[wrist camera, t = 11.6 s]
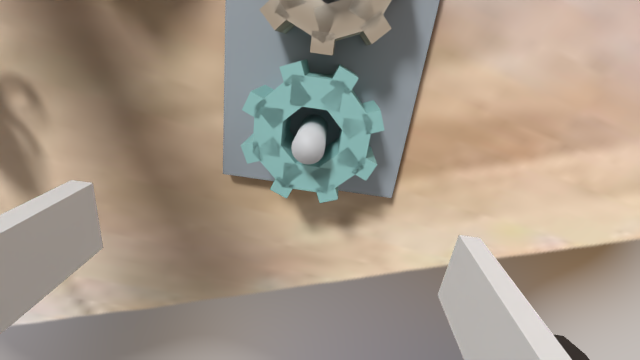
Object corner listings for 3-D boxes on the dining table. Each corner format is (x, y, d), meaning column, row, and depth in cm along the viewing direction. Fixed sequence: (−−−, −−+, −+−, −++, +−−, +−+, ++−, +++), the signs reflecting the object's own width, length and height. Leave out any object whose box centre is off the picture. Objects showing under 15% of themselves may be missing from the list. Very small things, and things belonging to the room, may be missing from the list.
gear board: (234, -128, 24) (182, -216, 16) (457, -96, 24) (516, -168, 16) (227, 168, 33) (193, 205, 25) (389, 191, 33) (405, 236, 25)
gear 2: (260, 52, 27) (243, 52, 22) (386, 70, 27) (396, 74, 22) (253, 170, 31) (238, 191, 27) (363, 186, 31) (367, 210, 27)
